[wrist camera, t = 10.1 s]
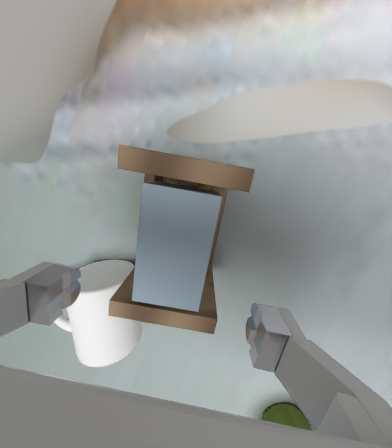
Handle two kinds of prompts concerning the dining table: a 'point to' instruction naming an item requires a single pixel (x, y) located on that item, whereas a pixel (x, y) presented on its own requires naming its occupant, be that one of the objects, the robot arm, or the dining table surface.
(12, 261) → the dining table surface
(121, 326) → the mug
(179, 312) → the stand
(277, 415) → the plant pot
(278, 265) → the dining table surface
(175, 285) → the light blue block
